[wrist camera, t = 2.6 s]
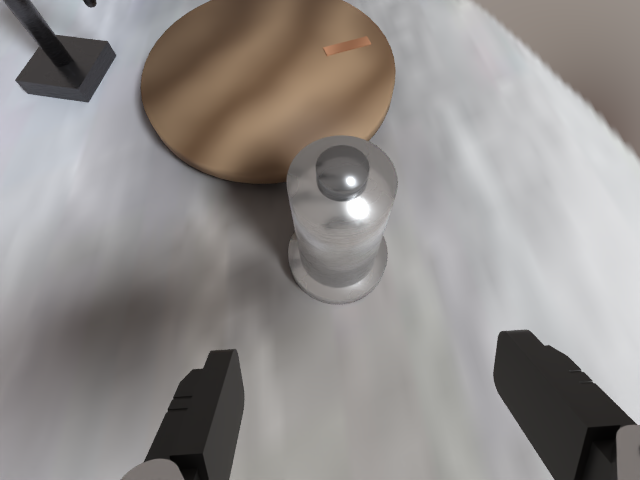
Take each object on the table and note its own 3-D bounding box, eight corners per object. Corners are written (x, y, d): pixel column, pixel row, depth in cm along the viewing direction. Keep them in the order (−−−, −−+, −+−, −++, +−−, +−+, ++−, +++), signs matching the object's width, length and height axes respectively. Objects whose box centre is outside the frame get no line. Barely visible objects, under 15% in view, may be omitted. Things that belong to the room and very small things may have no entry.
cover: (272, 278, 26) (237, 198, 16) (315, 202, 28) (308, 91, 18) (362, 321, 25) (385, 262, 15) (399, 237, 27) (440, 137, 17)
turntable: (97, 127, 30) (85, 113, 29) (231, -19, 38) (227, -36, 37) (327, 225, 26) (327, 215, 25) (426, 40, 34) (431, 23, 32)
